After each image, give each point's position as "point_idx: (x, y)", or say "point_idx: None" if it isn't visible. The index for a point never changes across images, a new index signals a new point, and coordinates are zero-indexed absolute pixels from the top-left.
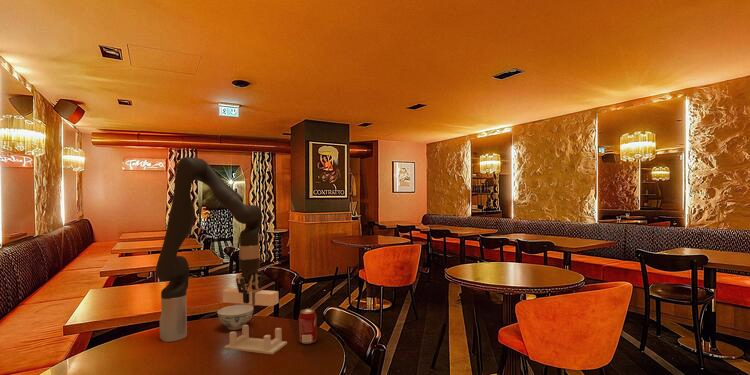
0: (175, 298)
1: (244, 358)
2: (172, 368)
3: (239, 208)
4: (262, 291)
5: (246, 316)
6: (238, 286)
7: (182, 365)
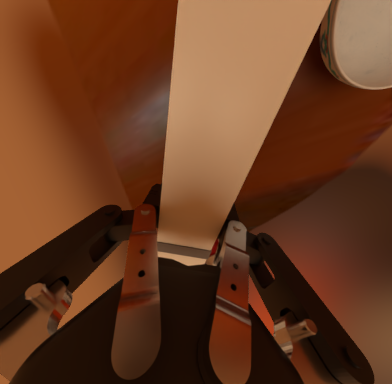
0: None
1: (145, 154)
2: None
3: None
4: (185, 264)
5: (337, 78)
6: (56, 245)
7: (67, 10)
